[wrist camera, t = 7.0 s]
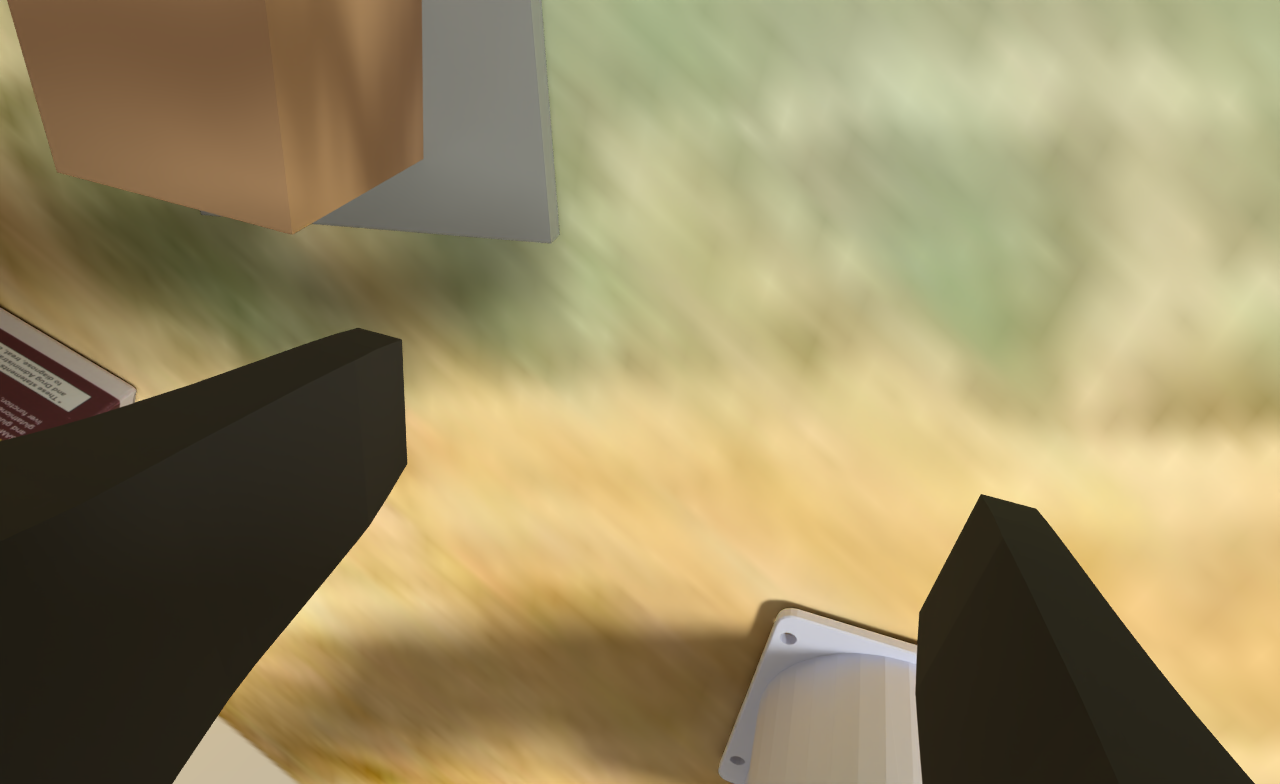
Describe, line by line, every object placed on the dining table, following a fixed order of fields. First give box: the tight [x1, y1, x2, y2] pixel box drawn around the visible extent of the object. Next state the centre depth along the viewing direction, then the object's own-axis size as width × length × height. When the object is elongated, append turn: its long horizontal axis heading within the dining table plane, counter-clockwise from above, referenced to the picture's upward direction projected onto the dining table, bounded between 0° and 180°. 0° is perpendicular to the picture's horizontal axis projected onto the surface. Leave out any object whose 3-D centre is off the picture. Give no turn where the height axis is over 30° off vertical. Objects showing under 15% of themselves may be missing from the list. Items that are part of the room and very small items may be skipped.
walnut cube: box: [7, 0, 423, 235], centre depth 15 cm, size 5×5×5 cm
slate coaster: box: [200, 0, 560, 243], centre depth 17 cm, size 10×10×1 cm
